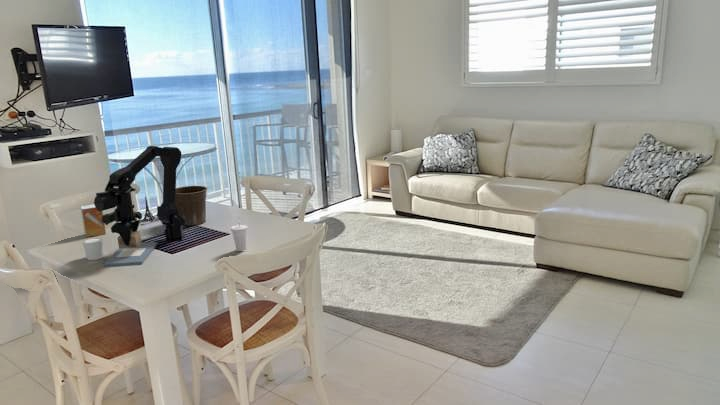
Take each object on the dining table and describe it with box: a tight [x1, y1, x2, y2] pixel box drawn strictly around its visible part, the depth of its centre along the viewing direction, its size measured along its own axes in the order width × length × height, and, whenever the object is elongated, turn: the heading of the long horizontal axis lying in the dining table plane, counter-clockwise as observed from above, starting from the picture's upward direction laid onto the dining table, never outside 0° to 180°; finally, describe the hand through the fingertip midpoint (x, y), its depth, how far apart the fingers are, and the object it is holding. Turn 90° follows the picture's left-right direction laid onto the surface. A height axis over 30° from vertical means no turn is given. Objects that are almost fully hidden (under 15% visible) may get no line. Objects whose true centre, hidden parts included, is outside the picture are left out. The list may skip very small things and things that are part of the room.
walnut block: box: [117, 230, 142, 248], centre depth 204 cm, size 7×7×4 cm
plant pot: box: [175, 185, 208, 227], centre depth 243 cm, size 16×16×16 cm
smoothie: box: [230, 215, 248, 252], centre depth 205 cm, size 6×6×14 cm
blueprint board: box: [102, 241, 158, 267], centre depth 205 cm, size 14×22×1 cm, turn 6°
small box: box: [79, 203, 107, 238], centre depth 231 cm, size 8×6×13 cm
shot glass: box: [82, 237, 104, 261], centre depth 203 cm, size 7×7×7 cm
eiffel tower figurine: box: [140, 195, 160, 227], centre depth 250 cm, size 15×10×13 cm
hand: (130, 242), depth 204 cm, fingers closed on walnut block, 7 cm apart
